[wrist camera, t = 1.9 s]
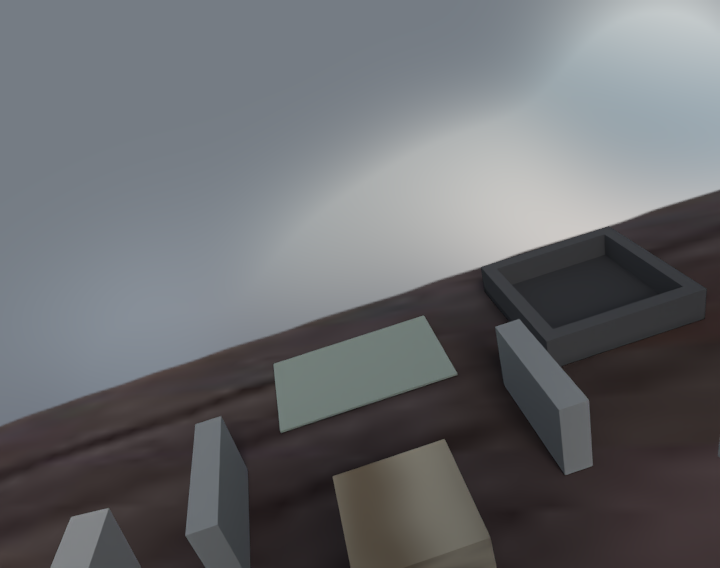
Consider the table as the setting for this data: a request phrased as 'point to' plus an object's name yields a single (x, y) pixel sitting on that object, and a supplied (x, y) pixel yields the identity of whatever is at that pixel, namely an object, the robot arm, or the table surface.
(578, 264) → the tray
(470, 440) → the table surface
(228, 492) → the walled passage
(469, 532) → the birch block
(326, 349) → the pad
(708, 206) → the table surface
